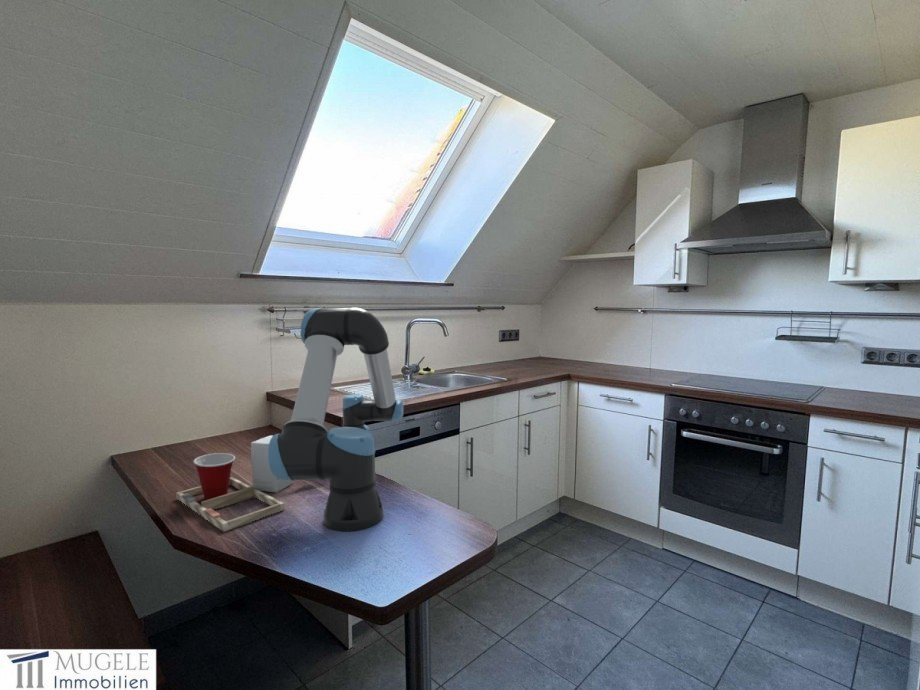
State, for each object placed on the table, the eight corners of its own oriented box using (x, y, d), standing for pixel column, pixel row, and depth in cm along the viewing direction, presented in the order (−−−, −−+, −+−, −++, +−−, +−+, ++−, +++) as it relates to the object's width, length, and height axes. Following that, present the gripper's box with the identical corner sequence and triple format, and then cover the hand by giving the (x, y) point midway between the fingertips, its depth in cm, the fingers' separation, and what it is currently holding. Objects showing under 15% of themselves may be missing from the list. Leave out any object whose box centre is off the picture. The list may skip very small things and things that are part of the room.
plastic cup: (219, 506, 129) (217, 464, 128) (186, 503, 131) (184, 462, 131) (245, 491, 140) (243, 452, 139) (214, 489, 142) (212, 451, 141)
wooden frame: (284, 510, 126) (283, 499, 126) (222, 532, 114) (221, 520, 114) (232, 483, 147) (232, 474, 147) (175, 499, 135) (175, 489, 134)
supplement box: (276, 493, 138) (274, 444, 137) (251, 490, 141) (249, 442, 140) (295, 482, 147) (293, 436, 146) (271, 480, 149) (269, 434, 148)
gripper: (357, 460, 156) (303, 479, 138) (311, 448, 170) (257, 464, 153) (356, 438, 155) (302, 454, 138) (310, 428, 170) (256, 441, 152)
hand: (278, 459), depth 145 cm, fingers open, 13 cm apart
